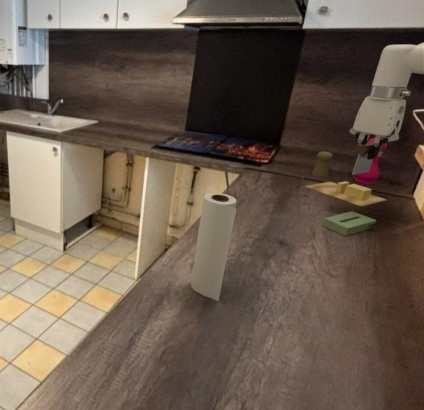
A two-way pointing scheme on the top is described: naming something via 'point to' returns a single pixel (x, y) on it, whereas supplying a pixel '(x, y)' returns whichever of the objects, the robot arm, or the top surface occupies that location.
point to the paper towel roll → (213, 244)
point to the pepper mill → (371, 169)
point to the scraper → (363, 158)
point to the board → (331, 190)
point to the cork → (322, 164)
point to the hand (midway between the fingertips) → (365, 157)
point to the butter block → (357, 192)
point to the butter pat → (341, 186)
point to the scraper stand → (348, 223)
